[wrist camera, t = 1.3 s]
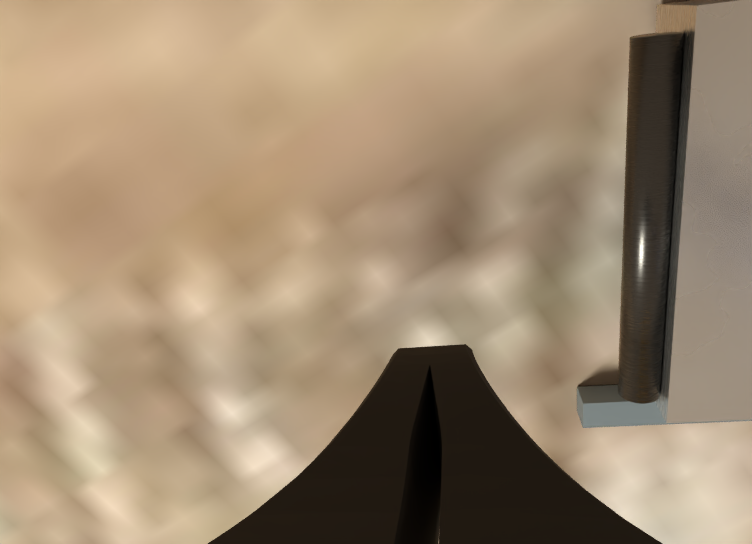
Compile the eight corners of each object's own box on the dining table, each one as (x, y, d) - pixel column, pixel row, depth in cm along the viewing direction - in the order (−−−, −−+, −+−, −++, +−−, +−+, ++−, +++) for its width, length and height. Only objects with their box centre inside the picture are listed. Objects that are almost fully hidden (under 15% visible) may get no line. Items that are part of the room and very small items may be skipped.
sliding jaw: (776, -11, 16) (840, -12, 14) (732, 367, 21) (773, 418, 18) (610, 10, 17) (642, 12, 14) (602, 374, 21) (624, 424, 19)
